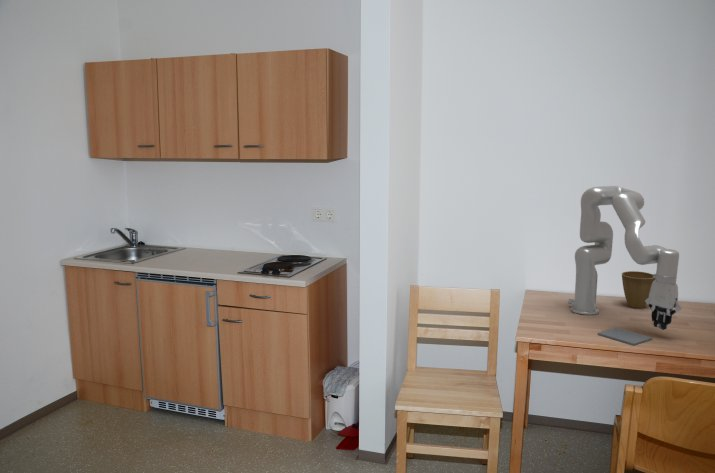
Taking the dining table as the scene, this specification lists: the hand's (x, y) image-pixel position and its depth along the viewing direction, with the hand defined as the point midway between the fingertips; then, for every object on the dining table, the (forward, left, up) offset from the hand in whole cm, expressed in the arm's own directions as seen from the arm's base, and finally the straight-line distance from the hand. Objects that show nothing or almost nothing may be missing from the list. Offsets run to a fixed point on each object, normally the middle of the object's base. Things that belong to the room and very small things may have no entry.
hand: (661, 321), depth 240 cm
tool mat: (-7, -14, -6) cm, 16 cm away
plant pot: (-30, +33, -6) cm, 45 cm away
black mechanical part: (-1, 0, -3) cm, 3 cm away
